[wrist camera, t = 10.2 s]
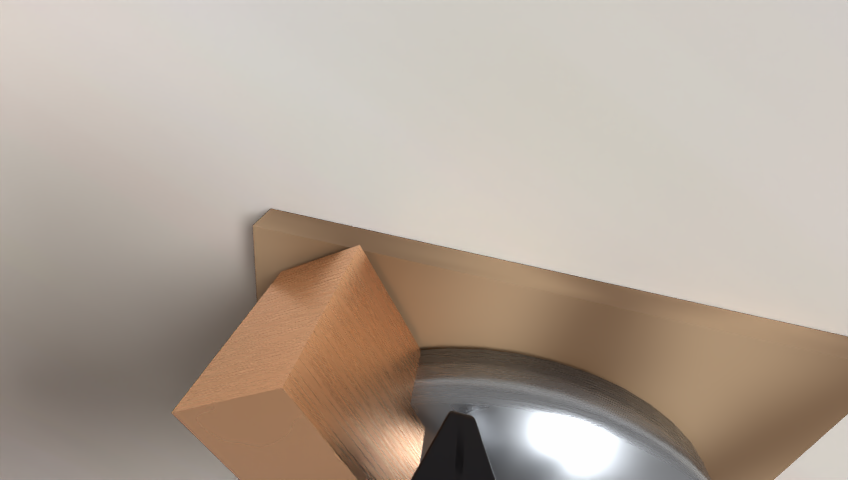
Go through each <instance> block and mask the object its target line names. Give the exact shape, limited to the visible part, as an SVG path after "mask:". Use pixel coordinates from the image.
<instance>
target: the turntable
mask: <svg viewBox="0 0 848 480" xmlns="http://www.w3.org/2000/svg"><path fill="white" fill-rule="evenodd" d="M450 411H456V412H460V413H464V414H467V415H471V416H473V417H474V418H475V420H476V423H477V426H478V429H479V432H480V435H481V438H482V441H483V444H484V446H485V449H486V452H487V455H488V458H489V461H490V464H491V467H492V470H493V473H494V476H495V479H496V480H711V478H710V476H709V474H708V472H707V470H706V467H705V465H704V463H703V461H702V459H701V458H700V456H699V454H698V453H697V451H696V450H695V448H694V446H693V445H692V443H691V441H690V440H689V439H688V438H687V437H686V436H685V435H684V434H683V433H682V432H681V431H680V429H679V428H678V427H677V426H676V425H675V424H674V423H673V422H672V421H671V420H669V419H668V418H667V417H666V416H664V415H663V414H662V413H661V412H659V411H658V410H657V409H656V408H654V407H653V406H652V405H651V404H649V403H647V402H646V401H644V400H642V399H641V398H639V397H637V396H636V395H634V394H632V393H631V392H629V391H627V390H626V389H624V388H622V387H620V386H618V385H616V384H613V383H611V382H609V381H607V380H605V379H602V378H600V377H598V376H596V375H593V374H591V373H588V372H585V371H582V370H579V369H576V368H573V367H570V366H567V365H564V364H561V363H558V362H554V361H549V360H545V359H540V358H536V357H531V356H527V355H522V354H516V353H508V352H500V351H492V350H483V349H450V348H446V349H432V350H421V349H420V348H419V346H418V344H417V342H416V341H415V339H414V337H413V336H412V334H411V332H410V330H409V329H408V327H407V325H406V324H405V322H404V320H403V318H402V317H401V315H400V313H399V312H398V310H397V308H396V306H395V305H394V303H393V301H392V299H391V298H390V296H389V294H388V293H387V291H386V289H385V287H384V286H383V284H382V282H381V281H380V279H379V277H378V275H377V274H376V272H375V270H374V269H373V267H372V265H371V263H370V262H369V260H368V258H367V257H366V255H365V253H364V251H363V250H362V248H361V246H360V245H358V246H355V247H352V248H349V249H346V250H343V251H340V252H337V253H334V254H331V255H328V256H325V257H322V258H320V259H317V260H314V261H311V262H308V263H305V264H302V265H299V266H296V267H293V268H290V269H287V270H284V271H281V273H280V274H279V275H278V276H277V278H276V279H275V280H274V282H273V283H272V284H271V285H270V287H269V288H268V289H267V291H266V292H265V293H264V294H263V296H262V297H261V298H260V299H259V301H258V302H257V303H256V305H255V306H254V307H253V308H252V310H251V311H250V312H249V314H248V315H247V316H246V317H245V319H244V320H243V321H242V323H241V324H240V325H239V326H238V328H237V329H236V330H235V332H234V333H233V334H232V335H231V337H230V338H229V339H228V341H227V342H226V343H225V344H224V346H223V347H222V348H221V350H220V351H219V352H218V353H217V355H216V356H215V357H214V359H213V360H212V361H211V362H210V364H209V365H208V366H207V368H206V369H205V370H204V371H203V373H202V374H201V375H200V377H199V378H198V379H197V380H196V382H195V383H194V384H193V386H192V387H191V388H190V389H189V391H188V392H187V393H186V395H185V396H184V397H183V398H182V400H181V401H180V402H179V404H178V405H177V406H176V407H175V409H174V410H173V411H172V414H173V415H174V416H175V417H176V418H177V419H178V420H179V421H180V422H181V423H182V424H183V425H184V426H185V427H186V428H187V429H188V430H189V431H190V432H191V433H192V434H194V435H195V436H196V437H197V438H198V439H199V440H200V441H201V442H202V443H203V444H204V445H205V446H206V447H207V448H208V449H209V450H210V451H211V452H212V453H213V454H214V455H215V456H216V457H217V458H218V459H219V460H220V461H221V462H222V463H223V464H224V465H225V466H226V467H227V468H228V469H229V470H230V471H231V472H232V473H233V474H234V475H235V476H236V477H237V478H238V479H239V480H411V478H412V476H413V475H414V473H415V471H416V469H417V467H418V466H419V464H420V462H421V460H422V459H423V457H424V455H425V453H426V451H427V450H428V448H429V446H430V444H431V443H432V441H433V439H434V437H435V436H436V434H437V432H438V430H439V428H440V427H441V425H442V423H443V421H444V420H445V418H446V416H447V414H448V413H449V412H450Z"/></svg>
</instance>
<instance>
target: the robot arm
mask: <svg viewBox="0 0 848 480" xmlns="http://www.w3.org/2000/svg"><path fill="white" fill-rule="evenodd" d="M411 480H496V479H495V476H494V473H493V470H492V467H491V464H490V461H489V458H488V455H487V452H486V449H485V446H484V444H483V441H482V438H481V435H480V432H479V429H478V426H477V423H476V420H475V418H474V417H473V416H471V415H467V414H464V413H460V412H456V411H450V412H449V413H448V414H447V416H446V418H445V420H444V421H443V423H442V425H441V427H440V428H439V430H438V432H437V434H436V436H435V437H434V439H433V441H432V443H431V444H430V446H429V448H428V450H427V451H426V453H425V455H424V457H423V459H422V460H421V462H420V464H419V466H418V467H417V469H416V471H415V473H414V475H413V476H412V478H411Z"/></svg>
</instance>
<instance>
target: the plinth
mask: <svg viewBox="0 0 848 480" xmlns="http://www.w3.org/2000/svg"><path fill="white" fill-rule="evenodd" d="M253 240H254V258H255V276H256V295H257V302H258V301H259V299H260V298H261V297H262V296H263V294H264V293H265V292H266V291H267V289H268V288H269V287H270V285H271V284H272V283H273V282H274V280H275V279H276V278H277V276H278V275H279V274H280V273H281V271H284V270H287V269H290V268H293V267H296V266H299V265H302V264H305V263H308V262H311V261H314V260H317V259H320V258H322V257H325V256H328V255H331V254H334V253H337V252H340V251H343V250H346V249H349V248H352V247H355V246H358V245H360V246H361V248H362V250H363V251H364V253H365V255H366V257H367V258H368V260H369V262H370V263H371V265H372V267H373V269H374V270H375V272H376V274H377V275H378V277H379V279H380V281H381V282H382V284H383V286H384V287H385V289H386V291H387V293H388V294H389V296H390V298H391V299H392V301H393V303H394V305H395V306H396V308H397V310H398V312H399V313H400V315H401V317H402V318H403V320H404V322H405V324H406V325H407V327H408V329H409V330H410V332H411V334H412V336H413V337H414V339H415V341H416V342H417V344H418V346H419V348H420V349H421V350H432V349H446V348H450V349H483V350H492V351H500V352H508V353H516V354H522V355H527V356H531V357H536V358H540V359H545V360H549V361H554V362H558V363H561V364H564V365H567V366H570V367H573V368H576V369H579V370H582V371H585V372H588V373H591V374H593V375H596V376H598V377H600V378H602V379H605V380H607V381H609V382H611V383H613V384H616V385H618V386H620V387H622V388H624V389H626V390H627V391H629V392H631V393H632V394H634V395H636V396H637V397H639V398H641V399H642V400H644V401H646V402H647V403H649V404H651V405H652V406H653V407H654V408H656V409H657V410H658V411H659V412H661V413H662V414H663V415H664V416H666V417H667V418H668V419H669V420H671V421H672V422H673V423H674V424H675V425H676V426H677V427H678V428H679V429H680V431H681V432H682V433H683V434H684V435H685V436H686V437H687V438H688V439H689V440H690V441H691V443H692V445H693V446H694V448H695V450H696V451H697V453H698V454H699V456H700V458H701V459H702V461H703V463H704V465H705V467H706V470H707V472H708V474H709V476H710V478H711V480H774V479H775V478H776V477H777V476H778V475H780V474H781V473H782V472H783V471H784V470H785V469H786V468H787V467H789V466H790V465H791V464H792V463H793V462H794V461H795V460H796V459H798V458H799V457H800V456H801V455H802V454H803V453H804V452H805V451H807V450H808V449H809V448H810V447H811V446H812V445H813V444H814V443H816V442H817V441H818V440H819V439H820V438H821V437H822V436H823V435H825V434H826V433H827V432H828V431H829V430H830V429H831V428H832V427H834V426H835V425H836V424H837V423H838V422H839V421H840V420H841V419H843V418H844V417H845V416H846V415H847V414H848V337H847V336H843V335H838V334H833V333H829V332H824V331H820V330H815V329H811V328H806V327H802V326H797V325H793V324H788V323H784V322H779V321H775V320H770V319H766V318H761V317H757V316H752V315H748V314H743V313H739V312H734V311H730V310H725V309H721V308H716V307H712V306H707V305H703V304H698V303H694V302H689V301H685V300H680V299H676V298H671V297H667V296H662V295H658V294H653V293H649V292H644V291H640V290H635V289H631V288H626V287H622V286H617V285H613V284H608V283H604V282H599V281H595V280H590V279H586V278H581V277H577V276H572V275H568V274H563V273H559V272H554V271H550V270H545V269H541V268H536V267H532V266H527V265H523V264H518V263H514V262H509V261H505V260H500V259H496V258H491V257H487V256H482V255H478V254H473V253H469V252H464V251H460V250H455V249H451V248H446V247H442V246H437V245H433V244H428V243H424V242H419V241H415V240H410V239H406V238H401V237H397V236H392V235H388V234H383V233H379V232H374V231H370V230H365V229H361V228H356V227H352V226H347V225H343V224H338V223H334V222H329V221H325V220H320V219H316V218H311V217H307V216H302V215H298V214H293V213H289V212H284V211H280V210H275V209H270V210H269V211H268V212H267V213H266V214H265V215H264V216H263V217H261V218H260V219H259V220H258V221H257V222H256V223H255V224H254V225H253Z"/></svg>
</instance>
